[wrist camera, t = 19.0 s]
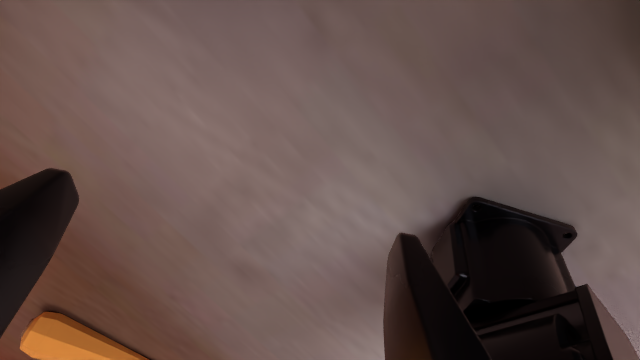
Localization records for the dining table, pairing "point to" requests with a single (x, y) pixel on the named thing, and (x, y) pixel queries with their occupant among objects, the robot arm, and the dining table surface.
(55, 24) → the dining table surface
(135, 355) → the carrot
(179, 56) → the dining table surface
